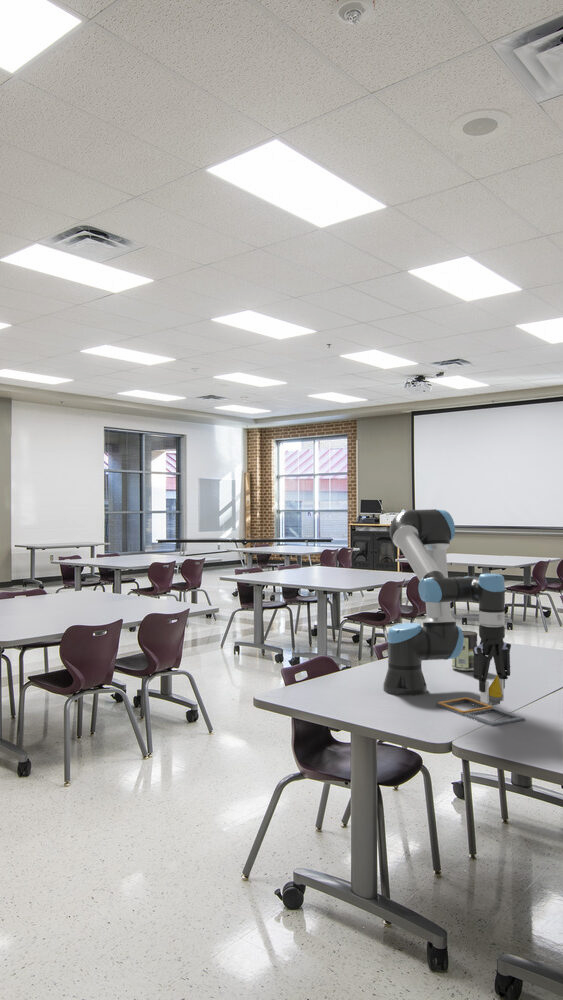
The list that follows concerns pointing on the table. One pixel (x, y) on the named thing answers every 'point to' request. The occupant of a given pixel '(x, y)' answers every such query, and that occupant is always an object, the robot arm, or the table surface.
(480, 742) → the table surface
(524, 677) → the table surface
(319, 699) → the table surface
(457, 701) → the orange gray double frame
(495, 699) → the yellow cone
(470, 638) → the coffee can
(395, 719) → the table surface
